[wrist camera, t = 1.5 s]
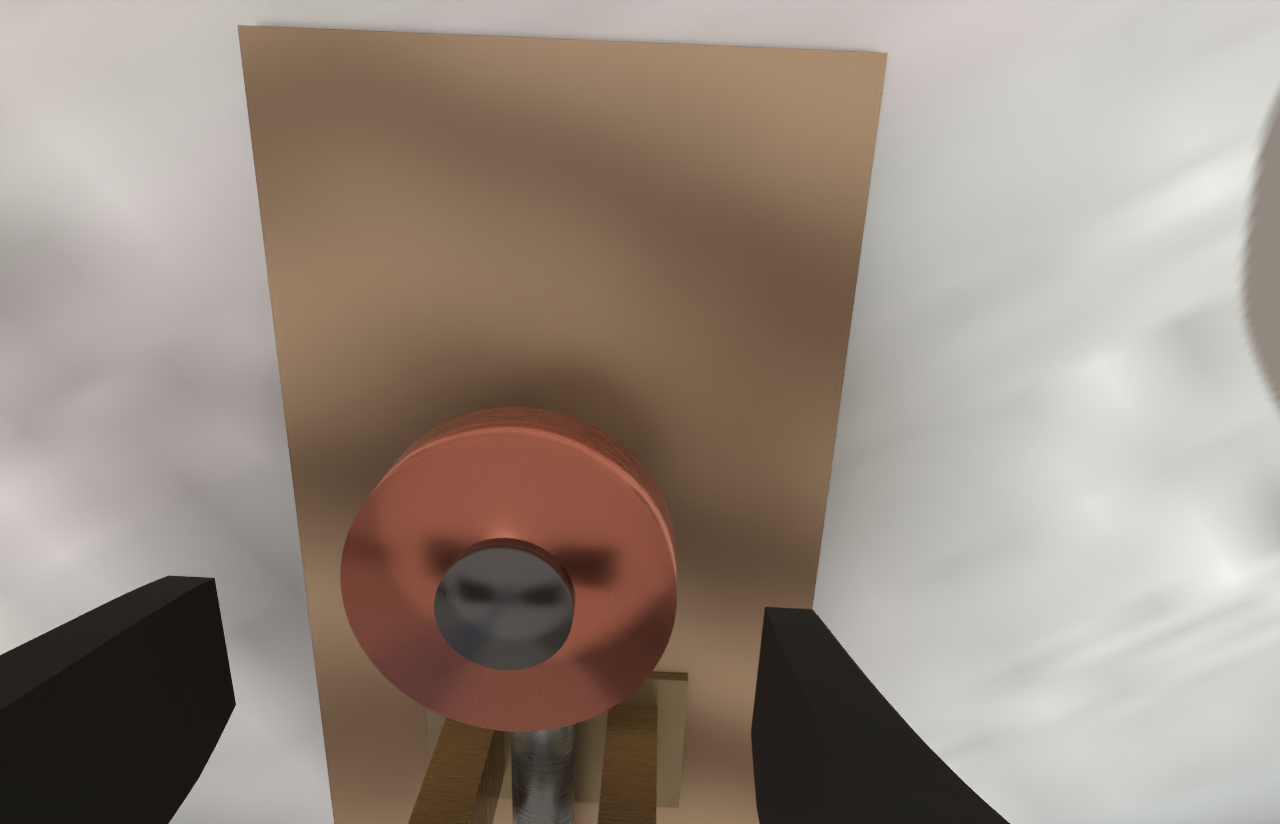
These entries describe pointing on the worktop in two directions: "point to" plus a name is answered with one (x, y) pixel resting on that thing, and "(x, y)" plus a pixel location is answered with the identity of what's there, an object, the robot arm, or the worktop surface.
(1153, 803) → the worktop surface
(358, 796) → the board
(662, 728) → the wooden holder
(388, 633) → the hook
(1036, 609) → the worktop surface
